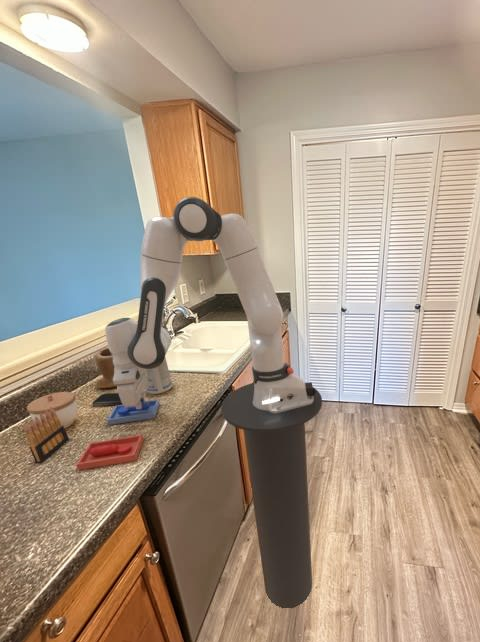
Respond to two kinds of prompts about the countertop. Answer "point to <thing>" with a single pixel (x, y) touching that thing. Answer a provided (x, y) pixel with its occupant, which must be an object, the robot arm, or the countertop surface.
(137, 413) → the blue tray
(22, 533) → the countertop surface
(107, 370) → the boot
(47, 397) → the lidded bowl
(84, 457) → the red tray
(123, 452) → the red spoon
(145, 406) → the blue lumpy bar
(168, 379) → the supplement tub
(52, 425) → the ammunition clip
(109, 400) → the phone
